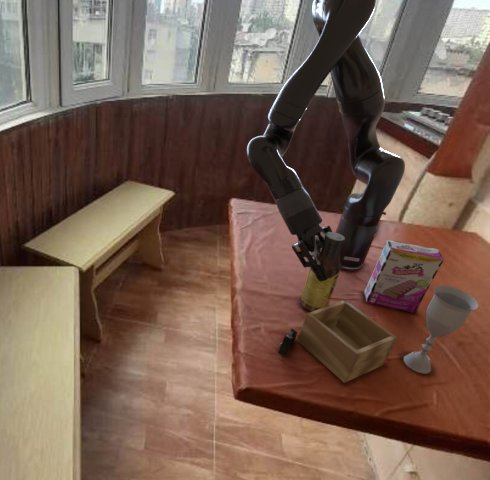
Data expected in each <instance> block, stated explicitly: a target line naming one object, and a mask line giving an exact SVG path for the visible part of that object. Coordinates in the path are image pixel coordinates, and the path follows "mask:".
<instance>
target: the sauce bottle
mask: <svg viewBox="0 0 490 480" xmlns="http://www.w3.org/2000/svg"><path fill="white" fill-rule="evenodd" d="M335 232H336V231H335ZM335 232H333V231H332V232H329V233H327V234H326V236H325V238H324V241H325V242H324V245H323V248H322V251H320V252H321V254H320V255H319V257H320V262H321V264H322V266H323V268H324V269H325V271H326V273H327V275H328V277H329V278H328V279H327V280H325V281H321V282H320V281H319V280H318V279H317V277H316V275H315V273H314V271H313V269H312V268H311V267H309V270H308V273H307V277H306V280H305V284H304V287H303V290H302V293H301V297H300V298H301V300H300V305H301V307H303V308H304V309H305V310H307V311H308V312H312V311H315V310H318V309H321V308H324V307H327V306H329V304H330V301H331V298H332V295H333V292H334V289H335V287H336V284H337V281H338V279H339V275H340V272H341V270H342V269H341V268H340V251H341V248H342V245H343V244H344V241H345V237H344V236H343V235H341V234H338V233H335ZM313 259H314V260H315V258H314V257H313ZM340 269H341V270H340Z"/></svg>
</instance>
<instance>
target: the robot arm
mask: <svg viewBox="0 0 490 480" xmlns="http://www.w3.org/2000/svg"><path fill="white" fill-rule="evenodd" d="M376 4H377V0H313V1H312V7H311V16H312V21H313V23H314V27H315V29H316V31H317V34H318V36H319V39H318V41H317V43H316V44H315V46H314V48H313V49H312V50H311V53H310V54H309V55H308V57H307V58H306V59H305V60H304V61H303V62H302V64H301V65H300V66H299V67H297V69H296V70H295V71H293V73H292V74H291V75H290V76H289V78H288V79H287V80H286V81H285V83H284V84H283V86H282V87H281V89H280V91H279V92H278V94H277V96H276V98H275V100H274V101H273V104H272V106H271V108H270V109H269V112H268V114H267V121H268V124H267V127H266V129H265V131H264V133H263V135H258V136H255V137H253V138H251V139H250V140H249V142H248V144H247V146H246V156H247V157H246V158H247V160H248V162H249V164H250V166H251V168H252V169H253V170H254V171H255V172H256V174H257V175H258V176H259V177H260V179H261V180H262V181H263V182H264V184H265V185H266V186H267V188H268V190H269V192H270V194H271V197H272V198H273V200H274V202H275V204H276V207H277V209H278V212H279V214H280V216H281V218H282V220H283V222H284V223H285V226H286V228H287V229H288V231H289V233H290V235H292V236H296V238H297V242H296V243H294V244H292V245H291V248H292V251H293V252H294V253H295V255H296V257H297V258H298V261H299V262H300V264H301V265H302V267H303V268H310V267H311V268H312V269H313V271H314V273H315V275H316V277H317V279H318V280H319V281H320V282H321V281H325V280H327V279H328V278H329V277H328V275H327V273H326V271H325V269H324V268H323V266H322V264H321V262H320V257H319V255H320V254H321V251H322V248H323V245H324V242H325V241H324V238H325V236H326V234H327V233H329V232H333V230H332V228H331V226H330V225H326V226H323V227H321V225H320V224H322V222H323V218H322V217H321V216H322V215H320V213H319V211H318V209H317V207H316V205H315V203H314V202H313V199H312V198H311V196H310V193H308V191H307V189H306V188H305V187H304V184H303V183H302V181H301V179H300V178H299V176H298V174H297V172H296V171H295V169H293V168H292V167H290V166H288V165H287V164H286V162H285V161H284V160H283V157H284V155H285V154H286V152H287V150H288V148H289V146H290V144H291V142H292V139H293V136H294V133H295V130H296V128H297V126H298V124H299V123H300V121H301V119H302V118H303V116H304V115H305V113H306V111H307V109H308V108H309V106H310V104H311V102H312V101H313V98H314V97H315V96H316V94H317V92H318V90H319V89H320V88H321V86H322V84H323V83H324V82H325V80H326V79H327V77H328V76H329V74H330V76H331V77H330V78H331V81H332V86H333V89H334V93H335V99H336V103H337V107H338V110H339V114H340V117H341V120H342V124H343V130H344V133H345V137H346V141H347V148H348V149H347V150H348V157H349V166H350V171H351V174H352V175H353V177H354V178H355V179H356V180H358V181H360V182H361V183H363V184H364V185H366V186H365V189H364V191H363V192H354V193H351V194H349V195H348V196H347V198H346V200H345V203H344V207H343V209H342V212H341V215H340V218H339V222H338V223H337V227H336V229H335V233H338V234H341V235H343V236H344V237H345V241H344V244H343V245H342V248H341V251H340V268H341V269H340V271H341V270H344V271H349V272H350V271H351V272H355V271H359V270H361V269H362V267H363V265H364V263H365V262H366V258H367V256H368V254H369V251H370V249H371V247H372V244H373V242H374V239H375V235H376V234H377V232H378V230H379V227H380V221H381V218H382V216H383V215H384V216H386V215H387V212H386V211H385V209H387V208H388V206H389V205H390V204H391V202H392V200H393V198H394V197H395V195H396V192H397V189H398V187H399V186H400V183H401V181H402V179H403V178H404V174H405V170H406V163H405V160H404V159H403V158H402V157H401V156H398V155H396V154H395V153H392V152H390V151H388V150H385V149H383V148H382V146H381V145H380V143H379V139H378V135H377V124H378V123H379V121H380V120H381V117H382V115H383V112H384V111H385V105H386V104H385V103H386V99H385V94H384V87H383V82H382V78H381V75H380V72H379V71H378V69H377V67H376V65H375V63H374V61H373V60H372V57H371V56H370V54H369V53H368V51H367V49H366V47H365V46H364V44H363V42H362V39H361V35H360V34H361V32H362V31H363V29H364V28H365V27H366V25H367V24H368V22H369V21H370V19H371V18H372V16H373V14H374V11H375V8H376ZM305 258H306V259H305ZM314 258H315V260H314Z"/></svg>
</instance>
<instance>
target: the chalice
mask: <svg viewBox="0 0 490 480" xmlns="http://www.w3.org/2000/svg"><path fill="white" fill-rule="evenodd" d="M478 308H479V303H478V302H477V300H476V299H475V298H474V297H473V296H472V295H471V294H469V293H467V292H465V291H464V290H461V289H460V288H457V287H454V286H449V285H443V284H441V285H437V286H435V287H434V288H433V297H432V298H431V300H430V301H429V303H428V306H427V308H426V311H425V312H426V313H425V321H426V329H427V331H428V333H430V334H429V336H428V337H426V338H425V340H426V342H425V343H422V344H421V347H422V348H421V351H419V350H418V351H417V350H416V351H415V350H414V351H411V352H410V353H408V354H406V355H404V356H403V362H404V364H405V365H406V366H407V367H408V368H409V369H411V370H412V371H415V372H416V373H420V374H424V375H425V374H430V373H431V372H432V361H431V358H430V357H429V355H428V352H430V351H432V350H433V348H432V345H434V344H436V338H437V337H438V338H444V337H446V336H447V335H449V334H452V333H454V332H455V331H457V330H459V329H461V328H462V327H463V325H464V324H465V322H466V320H467V319H468V317H469V316H470V314H471V312H472V311H475V310H476V309H478Z"/></svg>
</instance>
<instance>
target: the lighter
mask: <svg viewBox="0 0 490 480" xmlns="http://www.w3.org/2000/svg"><path fill="white" fill-rule="evenodd" d="M298 333H299V331H296V330H295V329H293V328H291V329H289V331H288V333H287V334H285V335H284V337H283V340H282V342H279V344H278V345H277V348H278V352H277V353H278V354H279V355H281V356H283V357H285V356H286V355H288V353H289V351H290V348H291V347H292V346H293V345H294V343H295V341H296V338H297V337H298Z"/></svg>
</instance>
